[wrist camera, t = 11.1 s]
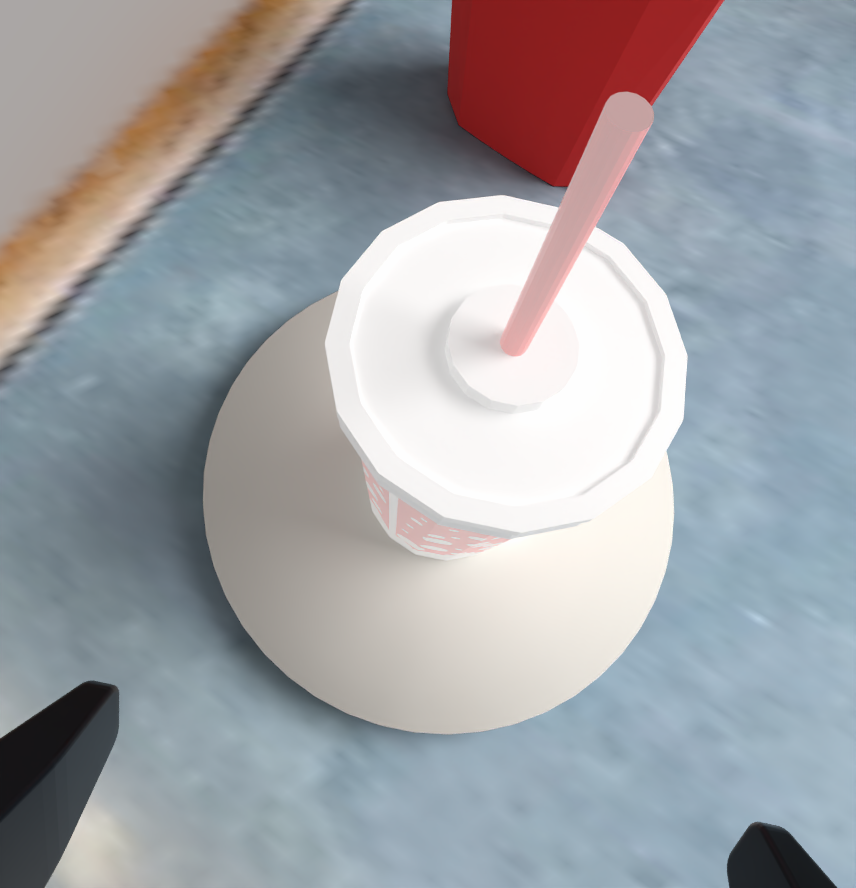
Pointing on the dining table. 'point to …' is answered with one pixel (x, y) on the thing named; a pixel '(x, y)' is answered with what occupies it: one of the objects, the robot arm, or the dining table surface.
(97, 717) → the robot arm
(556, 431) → the beverage cup
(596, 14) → the french fries
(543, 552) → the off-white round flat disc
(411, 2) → the dining table surface
